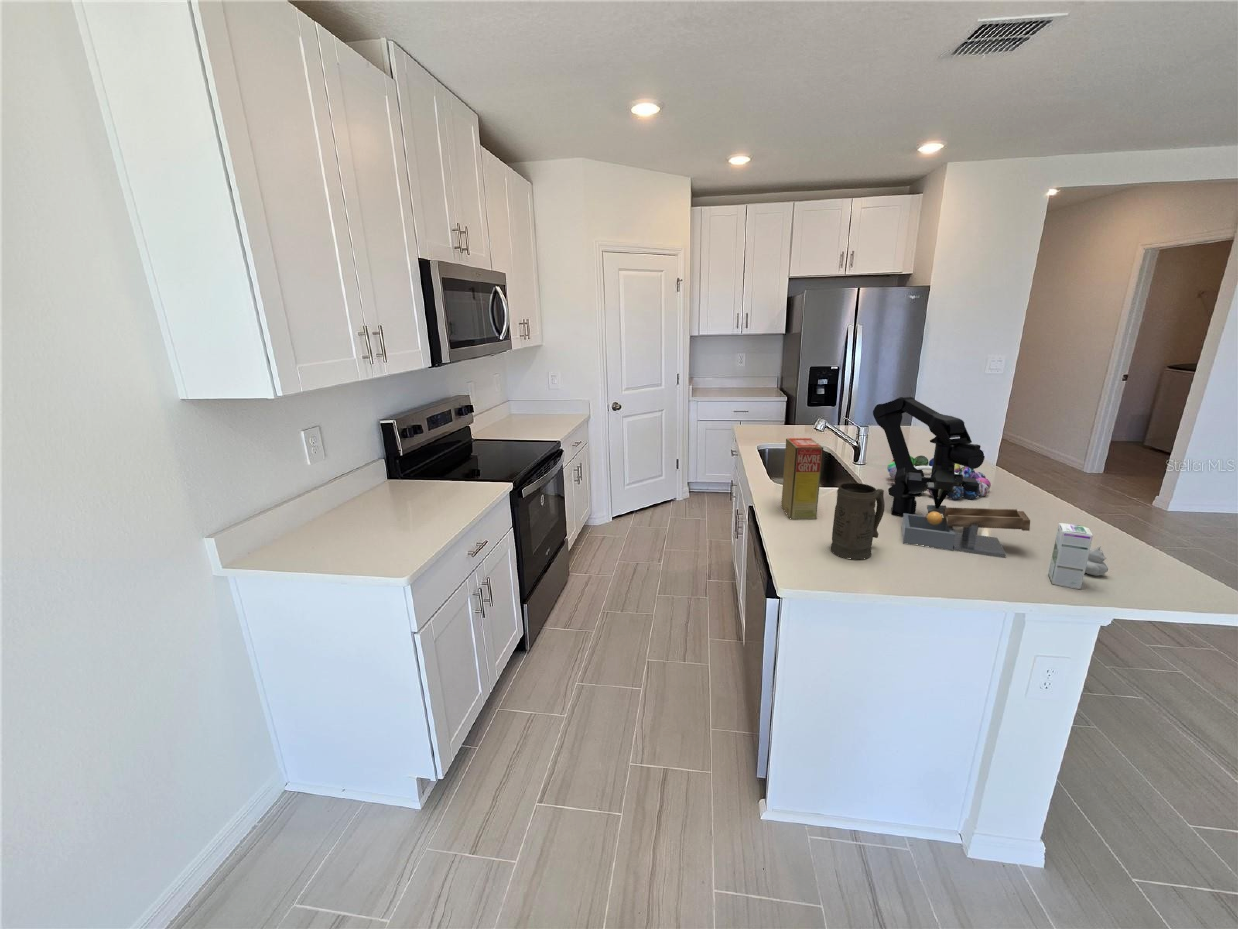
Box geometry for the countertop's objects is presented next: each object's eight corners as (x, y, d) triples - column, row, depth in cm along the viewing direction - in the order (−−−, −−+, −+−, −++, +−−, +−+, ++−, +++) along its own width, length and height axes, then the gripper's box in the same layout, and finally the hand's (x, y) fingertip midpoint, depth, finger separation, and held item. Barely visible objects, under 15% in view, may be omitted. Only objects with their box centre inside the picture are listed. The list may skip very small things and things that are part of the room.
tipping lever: (931, 526, 147) (931, 515, 146) (927, 508, 161) (927, 497, 160) (1029, 530, 136) (1030, 518, 136) (1015, 510, 150) (1016, 499, 149)
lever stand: (953, 550, 144) (958, 524, 141) (948, 534, 154) (952, 509, 152) (1005, 557, 138) (1010, 531, 136) (996, 540, 149) (1001, 515, 147)
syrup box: (1081, 590, 122) (1095, 534, 118) (1050, 584, 125) (1062, 530, 121) (1076, 579, 126) (1090, 526, 122) (1046, 574, 129) (1058, 521, 125)
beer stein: (851, 564, 137) (863, 494, 132) (820, 549, 147) (829, 483, 142) (888, 554, 144) (900, 488, 139) (855, 541, 154) (866, 478, 149)
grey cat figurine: (1103, 581, 125) (1111, 552, 123) (1068, 571, 130) (1075, 543, 128) (1108, 574, 128) (1115, 545, 126) (1074, 565, 134) (1081, 537, 131)
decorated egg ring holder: (988, 520, 175) (996, 497, 172) (879, 495, 192) (884, 474, 188) (983, 485, 203) (990, 465, 200) (888, 466, 219) (893, 447, 216)
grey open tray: (903, 543, 149) (905, 527, 148) (901, 527, 160) (903, 513, 158) (952, 550, 144) (955, 534, 142) (947, 534, 154) (949, 518, 153)
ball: (944, 526, 147) (928, 527, 149) (942, 521, 150) (927, 522, 152) (942, 513, 146) (926, 514, 148) (940, 508, 149) (925, 510, 151)
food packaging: (818, 519, 168) (824, 447, 161) (789, 519, 168) (794, 447, 162) (806, 505, 181) (811, 437, 174) (779, 505, 181) (784, 437, 174)
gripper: (910, 463, 150) (903, 512, 154) (986, 470, 142) (977, 521, 146) (908, 454, 159) (902, 500, 164) (979, 460, 151) (971, 508, 156)
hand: (936, 507), depth 157 cm, fingers closed, pressing on tipping lever
